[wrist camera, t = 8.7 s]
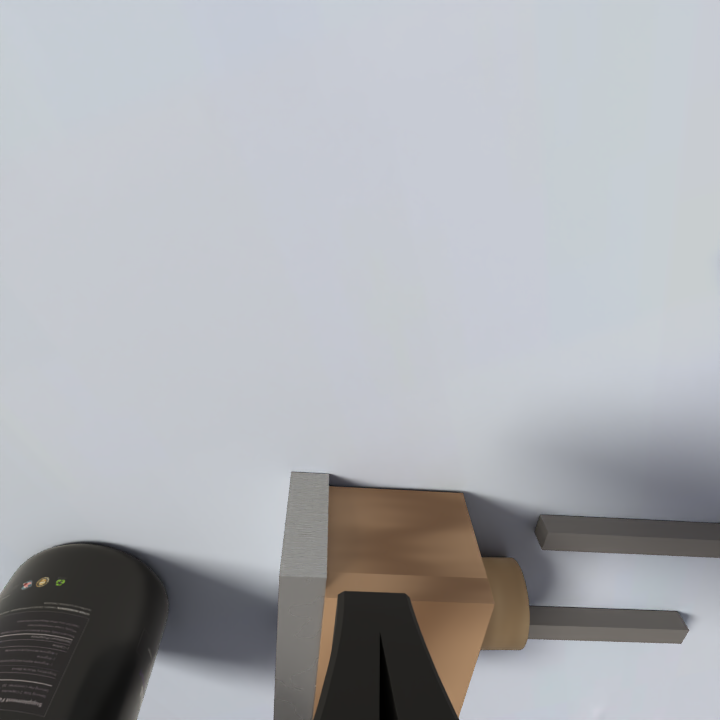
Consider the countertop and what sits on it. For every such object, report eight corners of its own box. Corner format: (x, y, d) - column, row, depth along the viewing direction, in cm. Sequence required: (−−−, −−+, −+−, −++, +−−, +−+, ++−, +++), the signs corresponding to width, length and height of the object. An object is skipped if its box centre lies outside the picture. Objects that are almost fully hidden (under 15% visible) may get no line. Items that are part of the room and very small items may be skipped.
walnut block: (462, 493, 22) (495, 603, 18) (428, 634, 27) (447, 753, 22) (328, 486, 22) (325, 597, 17) (315, 630, 26) (310, 751, 22)
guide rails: (726, 524, 24) (741, 541, 23) (670, 624, 27) (681, 643, 26) (540, 514, 23) (548, 532, 22) (504, 619, 26) (510, 638, 26)
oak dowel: (511, 539, 24) (536, 615, 21) (495, 591, 26) (516, 668, 23) (352, 537, 24) (354, 614, 21) (347, 590, 25) (349, 667, 22)
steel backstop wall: (328, 473, 22) (326, 577, 17) (314, 634, 27) (309, 748, 22) (291, 472, 22) (279, 575, 17) (283, 633, 26) (272, 747, 22)
